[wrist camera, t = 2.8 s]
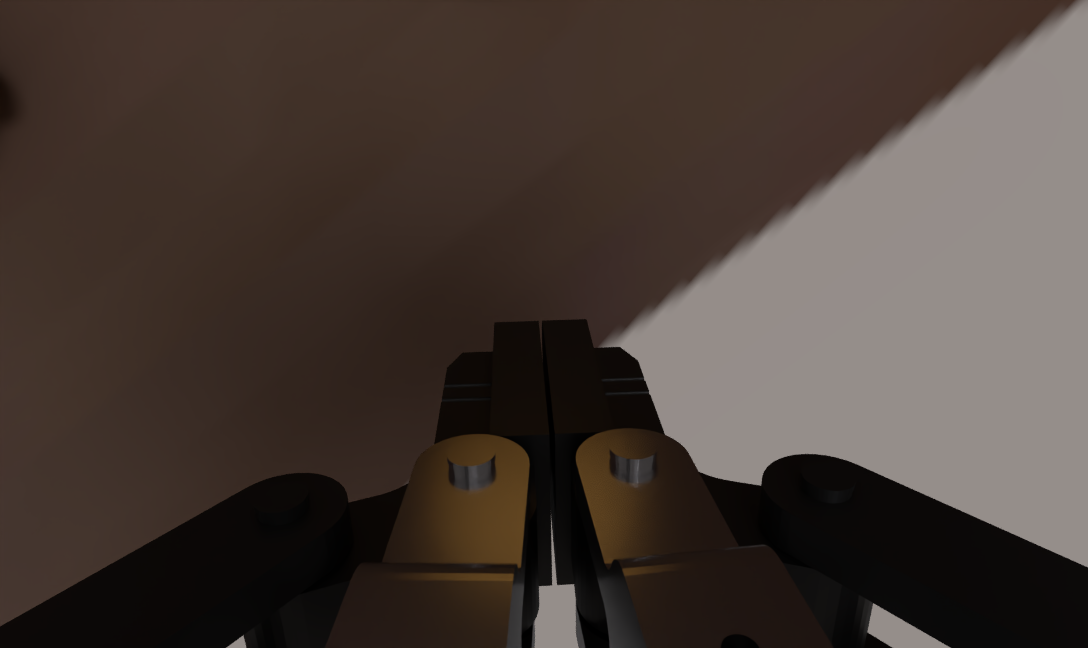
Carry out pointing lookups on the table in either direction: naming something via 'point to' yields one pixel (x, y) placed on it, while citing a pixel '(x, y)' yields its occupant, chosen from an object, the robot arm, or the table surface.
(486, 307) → the table surface
